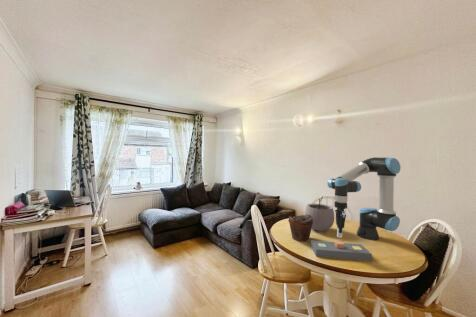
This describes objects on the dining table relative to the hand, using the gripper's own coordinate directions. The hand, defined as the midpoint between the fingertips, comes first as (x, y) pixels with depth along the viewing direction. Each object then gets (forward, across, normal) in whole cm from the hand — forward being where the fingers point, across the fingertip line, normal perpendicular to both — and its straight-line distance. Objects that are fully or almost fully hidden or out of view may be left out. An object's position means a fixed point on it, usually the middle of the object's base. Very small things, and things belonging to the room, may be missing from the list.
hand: (339, 237), depth 134 cm
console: (+11, 0, 0) cm, 11 cm away
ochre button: (+10, 0, +11) cm, 15 cm away
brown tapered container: (+11, -21, -22) cm, 32 cm away
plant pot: (+11, -44, -2) cm, 46 cm away
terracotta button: (+7, 0, 0) cm, 7 cm away
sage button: (+10, 0, -11) cm, 15 cm away
